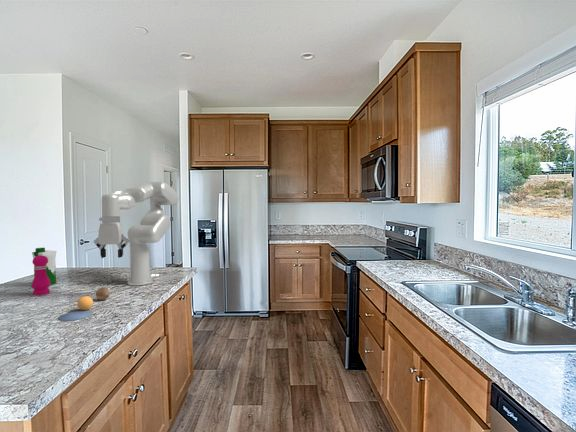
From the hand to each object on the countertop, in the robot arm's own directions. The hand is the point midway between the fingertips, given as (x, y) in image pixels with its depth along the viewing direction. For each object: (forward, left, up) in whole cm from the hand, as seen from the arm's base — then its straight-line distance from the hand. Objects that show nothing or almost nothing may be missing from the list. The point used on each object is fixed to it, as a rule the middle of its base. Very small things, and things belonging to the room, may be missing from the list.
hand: (111, 257), depth 155 cm
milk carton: (+21, -45, -18) cm, 53 cm away
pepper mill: (+25, -25, -18) cm, 39 cm away
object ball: (+15, +18, -15) cm, 28 cm away
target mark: (+20, +23, -18) cm, 35 cm away
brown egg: (+6, +7, -15) cm, 18 cm away
